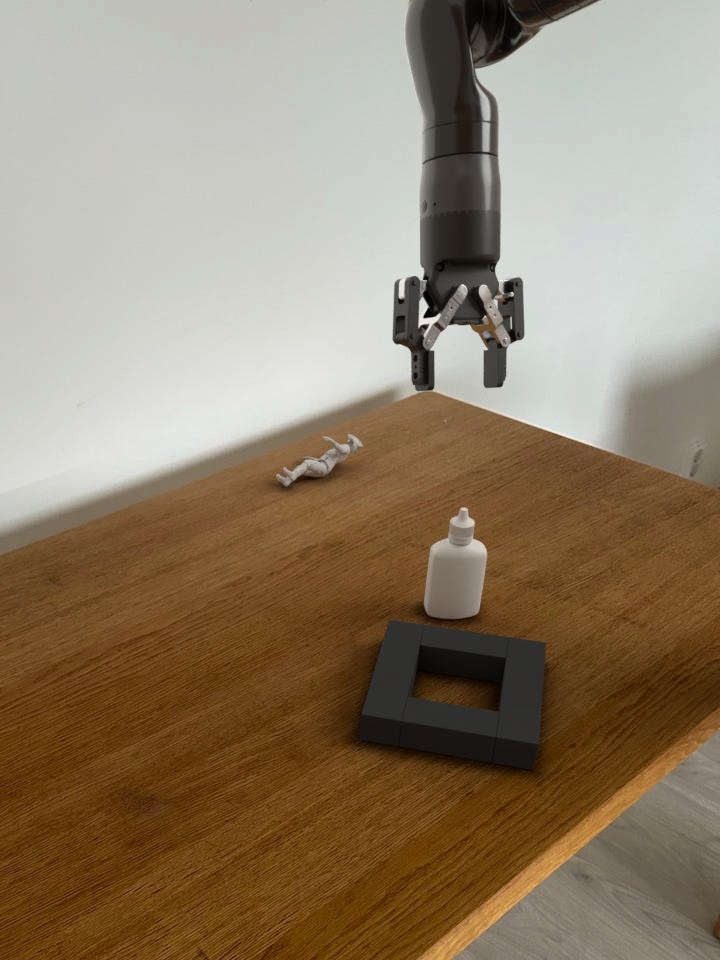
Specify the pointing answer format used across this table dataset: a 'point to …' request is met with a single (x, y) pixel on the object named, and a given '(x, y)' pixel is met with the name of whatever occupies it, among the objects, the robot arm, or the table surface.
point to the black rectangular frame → (449, 725)
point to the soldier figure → (322, 461)
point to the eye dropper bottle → (456, 572)
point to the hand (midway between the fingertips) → (459, 389)
